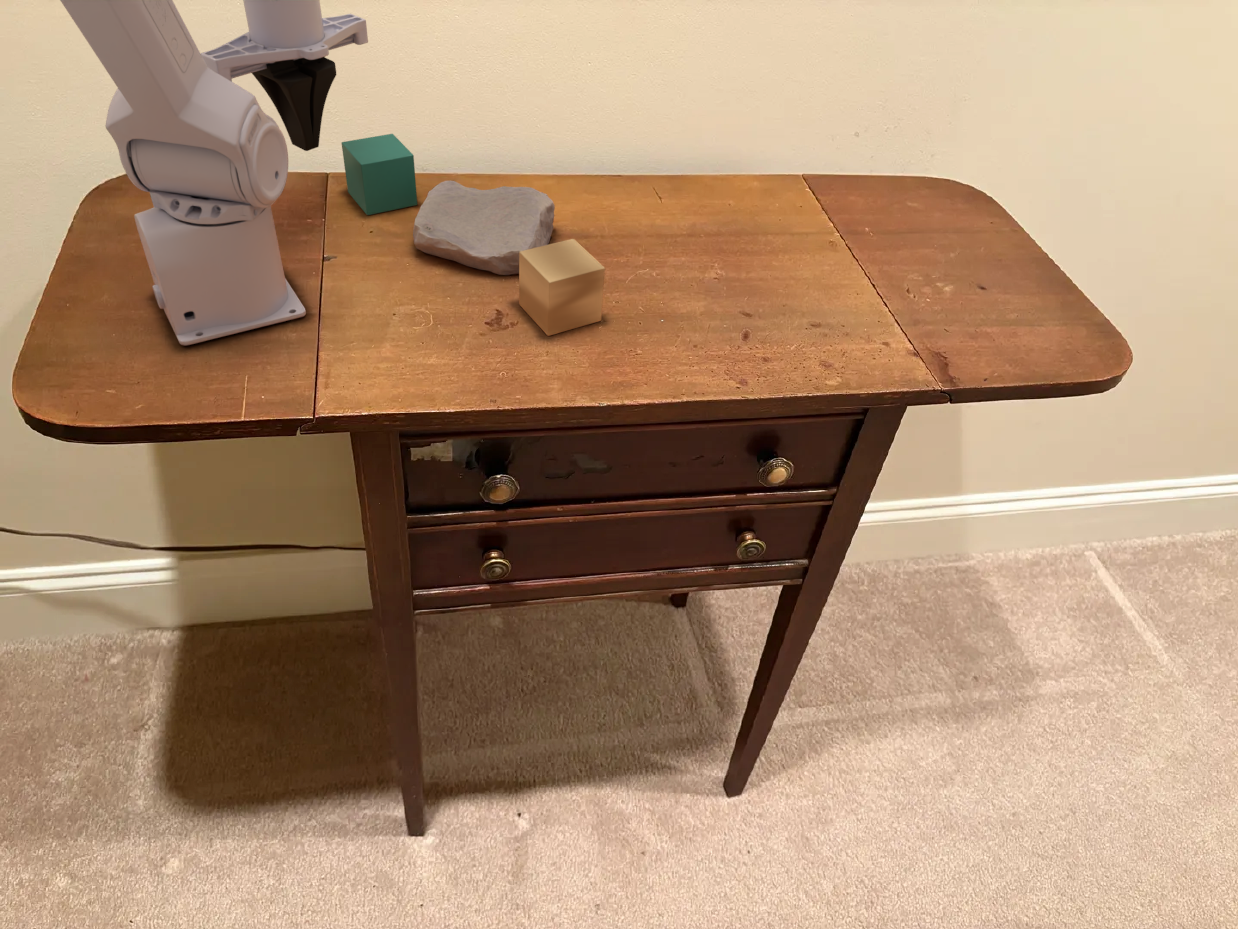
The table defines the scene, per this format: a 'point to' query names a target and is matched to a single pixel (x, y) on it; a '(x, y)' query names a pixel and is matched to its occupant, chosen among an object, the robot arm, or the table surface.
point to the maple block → (561, 286)
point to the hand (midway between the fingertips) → (305, 145)
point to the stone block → (483, 225)
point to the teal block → (380, 173)
